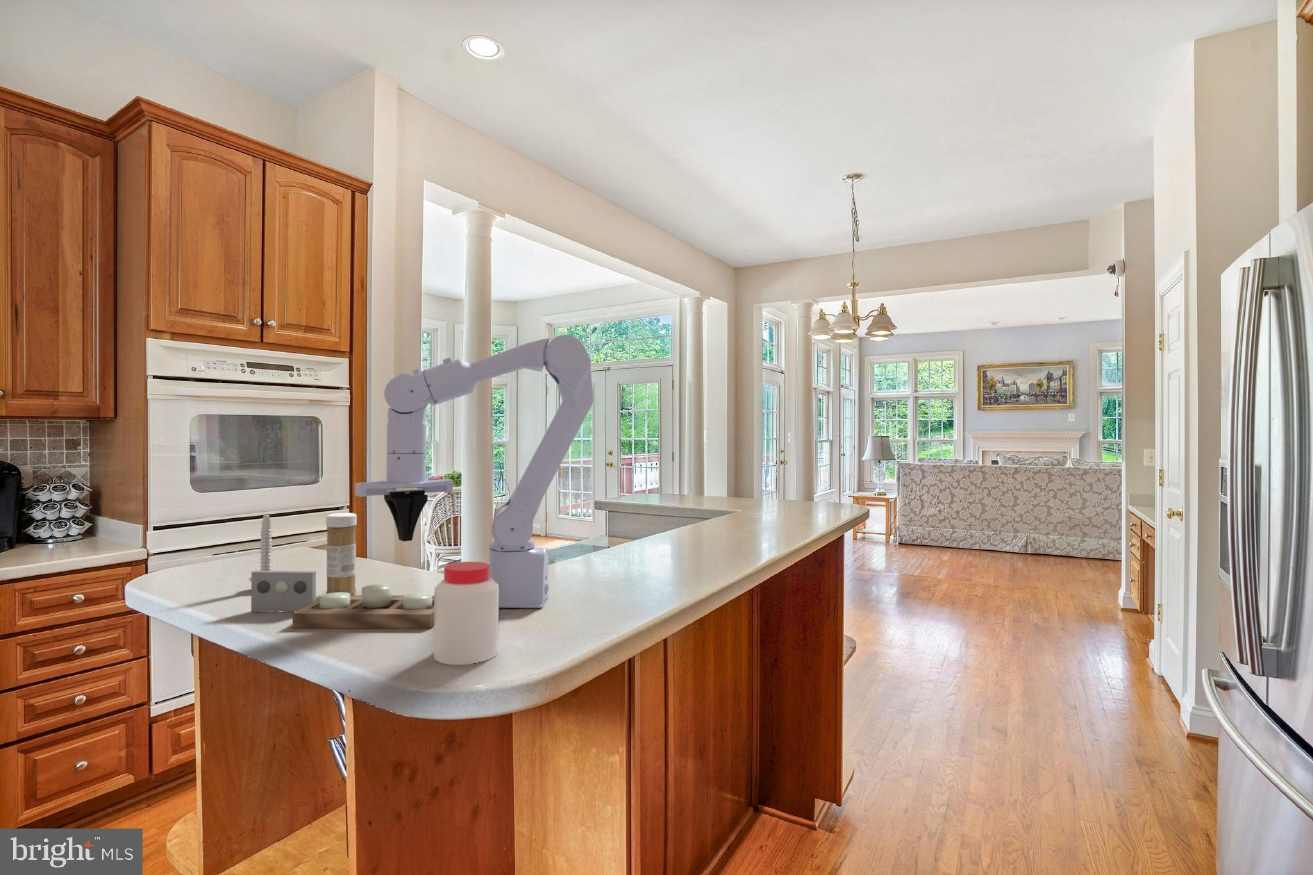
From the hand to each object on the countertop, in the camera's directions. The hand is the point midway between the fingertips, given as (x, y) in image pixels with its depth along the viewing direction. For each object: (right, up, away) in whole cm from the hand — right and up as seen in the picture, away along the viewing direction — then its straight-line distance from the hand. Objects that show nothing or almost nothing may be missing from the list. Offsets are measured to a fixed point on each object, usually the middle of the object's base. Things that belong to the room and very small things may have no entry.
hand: (405, 540), depth 100 cm
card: (-17, -10, -3) cm, 20 cm away
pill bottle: (+16, -11, -20) cm, 28 cm away
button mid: (-2, -8, -6) cm, 10 cm away
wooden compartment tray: (-2, -10, -6) cm, 12 cm away
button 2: (+4, -10, -6) cm, 12 cm away
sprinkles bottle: (-13, -10, +7) cm, 18 cm away
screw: (-27, -10, +9) cm, 31 cm away
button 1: (-8, -10, -6) cm, 14 cm away
